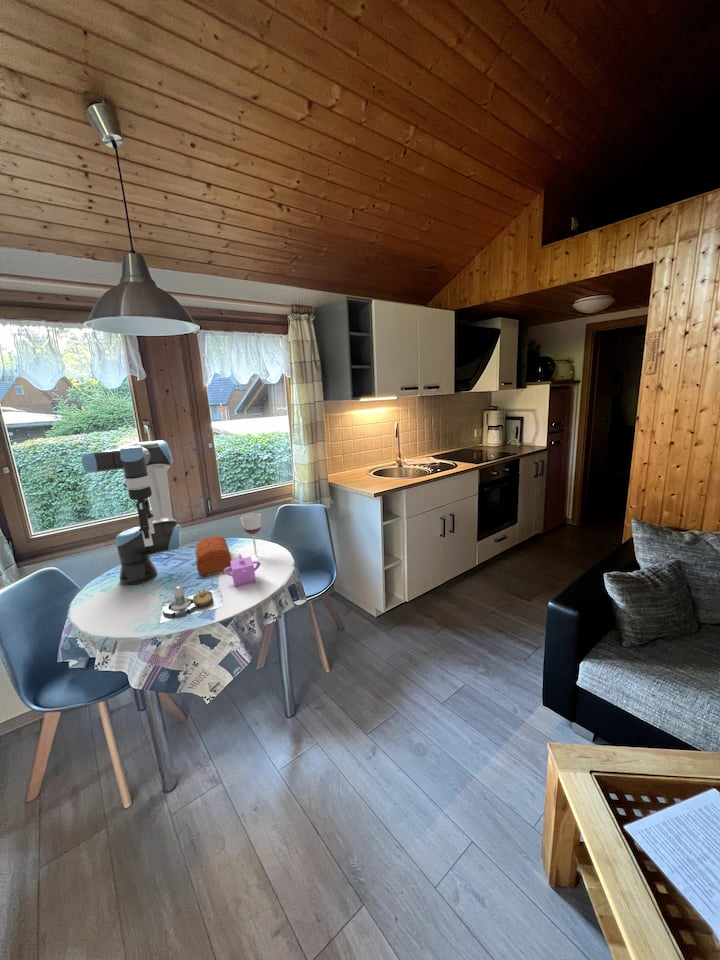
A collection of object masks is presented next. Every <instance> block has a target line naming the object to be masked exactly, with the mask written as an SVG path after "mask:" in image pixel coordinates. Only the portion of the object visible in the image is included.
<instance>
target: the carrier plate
mask: <svg viewBox="0 0 720 960" xmlns="http://www.w3.org/2000/svg"><path fill="white" fill-rule="evenodd" d="M208 591H209V592H211V593H212V596H213V601H212V602H211V603H210V604H208V605H205V606H198V605H197V604H195V603H194V601H193V597H194V596H195V595H196V594H197V593H196V594H191V595H188V596H187V595H184V598H185V599H190V600H191V605H190V606H189V607H187V608H186V609H182V610H178V611H173V610H172V609H171V605H172V603H174V602H175V599H172V600H171V599H170V600H168V601H167V600H166V601H163V602H162V603H161V612H160V620H159V624H162V623H166V622H170V621H171V622H172V621H173V620H177V619H182V618H186V617H189V616H193V615H197V614H200V613H204V612H207V611H208V612H209V611H211V610H212V611H213V610H216V609H219V608H223V607H225V604H224V599H223V593H222V588H216V589H211V590H208Z"/></svg>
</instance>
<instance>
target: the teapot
mask: <svg viewBox="0 0 720 960" xmlns="http://www.w3.org/2000/svg"><path fill="white" fill-rule="evenodd" d="M237 556H238V558H237V559H233V560H232V559H231V561H230V562H231V566H230V567H227V568H225V569H224V572H223V573H224V574H225V575H227V576H229V577H232V580H233V585H234V588H236V587H241V586H247V585H250V584H252V585H254V584H255V583H257V579H256V571H257V570H258V569H259V567H260V566H261V561H260V560H257V561H252V559H251V557H250V556H247V557H243V556H242V554H241V553H240V554H239V553H238V555H237ZM254 564H255V566H254ZM230 569H231V572H230V571H229V570H230Z"/></svg>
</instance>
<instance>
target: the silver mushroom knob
mask: <svg viewBox="0 0 720 960" xmlns="http://www.w3.org/2000/svg"><path fill="white" fill-rule="evenodd" d="M172 591H173V595H174V600H175V602H174V603H172V605H171V609H172V610H173V611H178V610H182V609H186V608H187V607H189V606H190V605H191V600H190V599H185V598H184V596H185V594H184V593H185V592H184V589H183V585H182V584H177V585H175V586H173V588H172Z"/></svg>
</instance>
